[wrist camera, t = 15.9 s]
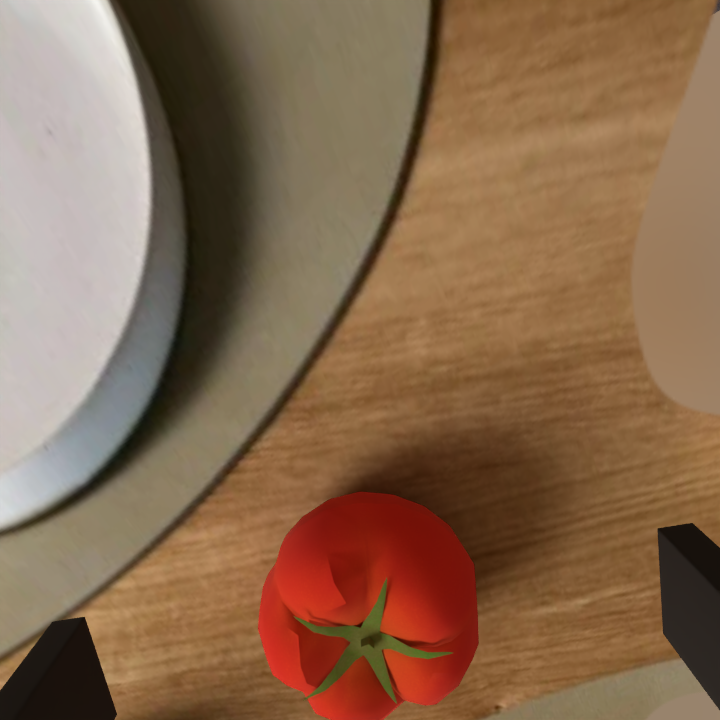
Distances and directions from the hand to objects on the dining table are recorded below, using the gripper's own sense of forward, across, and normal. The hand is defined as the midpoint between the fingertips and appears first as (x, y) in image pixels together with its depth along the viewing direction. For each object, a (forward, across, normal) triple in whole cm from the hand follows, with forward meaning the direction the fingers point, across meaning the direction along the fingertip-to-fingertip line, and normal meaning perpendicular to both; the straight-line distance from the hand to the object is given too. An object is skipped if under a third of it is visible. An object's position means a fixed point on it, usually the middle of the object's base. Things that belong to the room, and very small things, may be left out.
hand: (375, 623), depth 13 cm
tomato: (+17, -2, -9) cm, 19 cm away
